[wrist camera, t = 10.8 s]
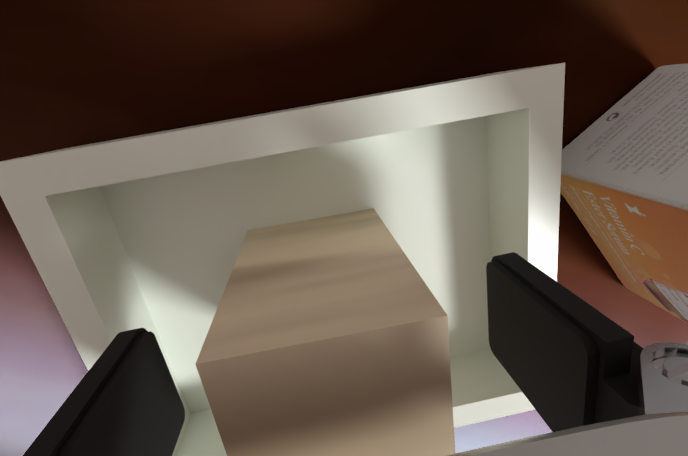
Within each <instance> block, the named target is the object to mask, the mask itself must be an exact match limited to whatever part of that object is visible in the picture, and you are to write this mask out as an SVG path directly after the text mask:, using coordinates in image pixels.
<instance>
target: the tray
mask: <svg viewBox="0 0 688 456" xmlns="http://www.w3.org/2000/svg"><path fill="white" fill-rule="evenodd" d="M564 83H565V63H559V64H552V65H544V66H537V67H530V68H523V69H516V70H509V71H502V72H496V73H490V74H484V75H479V76H473V77H467V78H462V79H456V80H450V81H444V82H439V83H433V84H427V85H422V86H416V87H410V88H405V89H399V90H393V91H388V92H382V93H376V94H370V95H365V96H359V97H353V98H348V99H342V100H336V101H331V102H325V103H319V104H314V105H308V106H302V107H296V108H291V109H285V110H279V111H274V112H268V113H262V114H257V115H251V116H245V117H240V118H234V119H228V120H222V121H217V122H211V123H205V124H200V125H194V126H188V127H183V128H177V129H171V130H166V131H160V132H154V133H149V134H143V135H137V136H131V137H126V138H120V139H114V140H109V141H103V142H97V143H92V144H86V145H80V146H75V147H69V148H64V149H59V150H54V151H49V152H44V153H40V154H35V155H30V156H25V157H20V158H15V159H10V160H6V161H1V162H0V196H1V198H2V200H3V202H4V204H5V206H6V208H7V210H8V212H9V214H10V216H11V218H12V220H13V222H14V224H15V226H16V228H17V230H18V232H19V234H20V236H21V238H22V240H23V242H24V244H25V246H26V248H27V250H28V252H29V254H30V256H31V258H32V260H33V262H34V264H35V266H36V268H37V270H38V272H39V274H40V276H41V278H42V280H43V282H44V284H45V286H46V288H47V290H48V292H49V294H50V296H51V298H52V300H53V302H54V304H55V306H56V308H57V310H58V312H59V314H60V316H61V318H62V320H63V322H64V324H65V326H66V328H67V330H68V332H69V334H70V336H71V338H72V340H73V342H74V344H75V346H76V348H77V350H78V352H79V354H80V356H81V358H82V360H83V362H84V364H85V366H86V368H87V370H88V371H89V370H90V369H91V367H92V366H93V365H94V364H95V362H96V361H97V360H98V358H99V357H100V356H101V355H102V353H103V352H104V351H105V349H106V348H107V347H108V346H109V344H110V343H111V342H112V340H113V339H114V338H115V336H116V335H117V334H118V333H119V332H123V331H128V330H133V329H138V328H145V329H146V330H147V331H148V332H150V331H151V332H153V333H154V335H155V337H156V339H157V342H158V344H159V347H160V349H161V351H162V354H163V356H164V359H165V361H166V364H167V366H168V369H169V371H170V374H171V376H172V379H173V381H174V383H175V386H176V388H177V391H178V393H179V396H180V398H181V401H182V403H183V406H184V409H185V420H184V424H183V426H182V429H181V432H180V435H179V437H178V440H177V443H176V446H175V449H174V451H173V454H172V456H227V454H226V451H225V448H224V445H223V443H222V440H221V437H220V434H219V431H218V428H217V425H216V422H215V419H214V417H213V414H212V411H211V408H210V405H209V402H208V399H207V396H206V393H205V391H204V388H203V385H202V382H201V379H200V376H199V373H198V370H197V367H196V365H195V364H196V361H197V359H198V356H199V354H200V351H201V349H202V346H203V343H204V341H205V338H206V336H207V333H208V331H209V328H210V326H211V323H212V321H213V318H214V315H215V313H216V310H217V308H218V305H219V303H220V300H221V298H222V295H223V293H224V290H225V288H226V285H227V282H228V280H229V277H230V275H231V272H232V270H233V267H234V265H235V262H236V260H237V257H238V254H239V252H240V249H241V247H242V244H243V242H244V239H245V237H246V234H247V232H248V230H251V229H257V228H263V227H269V226H275V225H280V224H286V223H292V222H298V221H304V220H309V219H315V218H321V217H327V216H333V215H338V214H344V213H350V212H356V211H362V210H367V209H373V208H374V210H375V211H376V212H377V214H378V215H379V217H380V218H381V220H382V221H383V223H384V224H385V225H386V227H387V228H388V230H389V231H390V233H391V234H392V236H393V237H394V239H395V240H396V241H397V243H398V244H399V246H400V247H401V249H402V250H403V252H404V253H405V254H406V256H407V257H408V259H409V260H410V262H411V263H412V265H413V266H414V268H415V269H416V270H417V272H418V273H419V275H420V276H421V278H422V279H423V281H424V282H425V284H426V285H427V286H428V288H429V289H430V291H431V292H432V294H433V295H434V297H435V298H436V299H437V301H438V302H439V304H440V305H441V307H442V308H443V310H444V311H445V313H446V314H447V315H448V332H449V350H450V368H451V386H452V405H453V423H454V428H456V427H460V426H465V425H469V424H474V423H478V422H482V421H487V420H491V419H496V418H500V417H504V416H509V415H513V414H518V413H522V412H526V411H531V410H535V408H534V407H533V405H532V404H531V403H530V401H529V400H528V399H527V397H526V396H525V395H524V394H523V392H522V391H521V390H520V388H519V387H518V386H517V384H516V383H515V382H514V380H513V379H512V378H511V377H510V375H509V374H508V373H507V371H506V370H505V369H504V367H503V366H502V365H501V363H500V362H499V361H498V360H497V358H496V357H495V356H494V354H493V353H492V351H491V348H490V345H489V333H488V304H487V275H486V266H487V263H488V262H491V260H492V258H493V257H494V256H497V255H502V254H507V253H512V252H515V253H517V254H518V255H520V256H521V257H522V258H524V259H525V260H527V261H528V262H529V263H531V264H532V265H534V266H535V267H537V268H538V269H539V270H541V271H542V272H544V273H545V274H546V275H548V276H549V277H551V278H552V279H554V280H555V281H556V282H557V263H558V237H559V211H560V186H561V160H562V134H563V109H564Z"/></svg>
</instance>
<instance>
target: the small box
mask: <svg viewBox="0 0 688 456" xmlns="http://www.w3.org/2000/svg"><path fill="white" fill-rule="evenodd" d="M560 193H561V194H562V195H563V197H564V198H565V199H566V201H567V202H568V204H569V205H570V207H571V208H572V210H573V211H574V212H575V214H576V215H577V217H578V218H579V220H580V221H581V223H582V224H583V226H584V227H585V229H586V230H587V232H588V233H589V235H590V236H591V238H592V239H593V241H594V242H595V244H596V245H597V247H598V248H599V250H600V251H601V253H602V254H603V256H604V257H605V258H606V260H607V261H608V263H609V264H610V266H611V267H612V269H613V270H614V272H615V273H616V275H617V277H618V278H619V279H620V281H621V283H622V284H623V285H624V287H626V288H627V289H628V290H630V291H632V292H634V293H635V294H637V295H639V296H641V297H643V298H644V299H646V300H648V301H650V302H651V303H653V304H655V305H657V306H658V307H660V308H662V309H664V310H665V311H667V312H669V313H671V314H672V315H674V316H676V317H677V318H679V319H681V320H682V321H684V322H686V323H688V64H676V65H666V66H661V67H658V68H657V69H655V70H654V71H653V72H652V73H651V74H650V75H649V76H647V77H646V78H645V79H644V80H643V81H642V82H640V83H639V84H638V85H637V86H636V87H635V88H633V89H632V90H631V91H630V92H629V93H628V94H626V95H625V96H624V97H623V98H622V99H621V100H619V101H618V102H617V103H616V104H615V105H613V106H612V107H611V108H610V109H609V110H608V111H607V112H605V113H604V114H603V115H602V116H601V117H600V118H599V119H597V120H596V121H595V122H594V123H593V124H592V125H590V126H589V127H588V128H587V129H586V130H585V131H583V132H582V133H581V134H580V135H579V136H578V137H577V138H575V139H574V140H573V141H572V142H571V143H570V144H568V145H567V146H566V147H565V148H564V149H562V160H561V186H560Z"/></svg>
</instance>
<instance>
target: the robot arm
mask: <svg viewBox="0 0 688 456" xmlns="http://www.w3.org/2000/svg"><path fill="white" fill-rule="evenodd" d="M486 275H487V304H488V333H489V345H490V348H491V351H492V353H493V354H494V356H495V357H496V358H497V360H498V361H499V362H500V363H501V365H502V366H503V367H504V369H505V370H506V371H507V373H508V374H509V375H510V377H511V378H512V379H513V380H514V382H515V383H516V384H517V386H518V387H519V388H520V390H521V391H522V392H523V394H524V395H525V396H526V397H527V399H528V400H529V401H530V403H531V404H532V405H533V407H534V408H535V409H536V411H537V412H538V413H539V414H540V416H541V417H542V418H543V420H544V421H545V422H546V424H547V425H548V426H549V428H550V429H551V430H552V431H553V432H552V433H547V434H542V435H537V436H532V437H528V438H523V439H519V440H514V441H510V442H505V443H501V444H496V445H492V446H487V447H483V448H479V449H474V450H470V451H465V452H461V453H456V454H452V455H447V456H688V345H686V344H680V343H671V342H666V343H655V344H652V345H649V346H647V347H645V348H644V349H643V348H642V347H640V346H639V345H637V344H636V343H635V342H633V341H634V336H633V335H632V334H630V333H629V332H627V331H626V330H624V329H623V328H622V327H620V326H619V325H617V324H616V323H615V322H613V321H612V320H610V319H609V318H607V317H606V316H605V315H603V314H602V313H600V312H599V311H598V310H596V309H595V308H593V307H592V306H590V305H589V304H588V303H586V302H585V301H583V300H582V299H581V298H579V297H578V296H576V295H575V294H573V293H572V292H571V291H569V290H568V289H566V288H565V287H563V286H562V285H561V284H559V283H558V282H556V281H555V280H554V279H552V278H551V277H549V276H548V275H546V274H545V273H544V272H542V271H541V270H539V269H538V268H537V267H535V266H534V265H532V264H531V263H529V262H528V261H527V260H525V259H524V258H522V257H521V256H520V255H518V254H517V253H515V252H512V253H507V254H502V255H497V256H494V257H493V258H492V260H491V262H488V263H487V266H486ZM184 420H185V409H184V406H183V403H182V401H181V398H180V396H179V393H178V391H177V388H176V386H175V383H174V381H173V379H172V376H171V374H170V371H169V369H168V366H167V364H166V361H165V359H164V356H163V354H162V351H161V349H160V347H159V344H158V342H157V339H156V337H155V335H154V333H153V332H151V331H150V332H148V331H147V330H146V329H145V328H138V329H133V330H128V331H123V332H119V333H118V334H117V335H116V336H115V338H114V339H113V340H112V342H111V343H110V344H109V346H108V347H107V348H106V349H105V351H104V352H103V353H102V355H101V356H100V357H99V358H98V360H97V361H96V362H95V364H94V365H93V366H92V367H91V369H90V370H89V371H88V373H87V374H86V375H85V376H84V378H83V379H82V380H81V382H80V383H79V384H78V385H77V387H76V388H75V389H74V391H73V392H72V393H71V394H70V396H69V397H68V398H67V400H66V401H65V402H64V403H63V405H62V406H61V407H60V409H59V410H58V411H57V412H56V414H55V415H54V416H53V418H52V419H51V420H50V421H49V423H48V424H47V425H46V427H45V428H44V429H43V430H42V432H41V433H40V434H39V436H38V437H37V438H36V439H35V441H34V442H33V443H32V445H31V446H30V447H29V448H28V450H27V451H26V452H25V454H24V455H23V456H172V454H173V451H174V449H175V446H176V443H177V440H178V437H179V435H180V432H181V429H182V426H183V424H184Z"/></svg>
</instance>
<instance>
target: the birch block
mask: <svg viewBox="0 0 688 456" xmlns="http://www.w3.org/2000/svg"><path fill="white" fill-rule="evenodd" d="M195 365H196V367H197V370H198V373H199V376H200V379H201V382H202V385H203V388H204V391H205V393H206V396H207V399H208V402H209V405H210V408H211V411H212V414H213V417H214V419H215V422H216V425H217V428H218V431H219V434H220V437H221V440H222V443H223V445H224V448H225V451H226V454H227V456H447V455H452V454H455V441H454V423H453V405H452V386H451V368H450V350H449V332H448V315H447V314H446V313H445V311H444V310H443V308H442V307H441V305H440V304H439V302H438V301H437V299H436V298H435V297H434V295H433V294H432V292H431V291H430V289H429V288H428V286H427V285H426V284H425V282H424V281H423V279H422V278H421V276H420V275H419V273H418V272H417V270H416V269H415V268H414V266H413V265H412V263H411V262H410V260H409V259H408V257H407V256H406V254H405V253H404V252H403V250H402V249H401V247H400V246H399V244H398V243H397V241H396V240H395V239H394V237H393V236H392V234H391V233H390V231H389V230H388V228H387V227H386V225H385V224H384V223H383V221H382V220H381V218H380V217H379V215H378V214H377V212H376V211H375V210H374V208H373V209H367V210H362V211H356V212H350V213H344V214H338V215H333V216H327V217H321V218H315V219H309V220H304V221H298V222H292V223H286V224H280V225H275V226H269V227H263V228H257V229H251V230H248V232H247V234H246V237H245V239H244V242H243V244H242V247H241V249H240V252H239V254H238V257H237V260H236V262H235V265H234V267H233V270H232V272H231V275H230V277H229V280H228V282H227V285H226V288H225V290H224V293H223V295H222V298H221V300H220V303H219V305H218V308H217V310H216V313H215V315H214V318H213V321H212V323H211V326H210V328H209V331H208V333H207V336H206V338H205V341H204V343H203V346H202V349H201V351H200V354H199V356H198V359H197V361H196V364H195Z"/></svg>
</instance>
